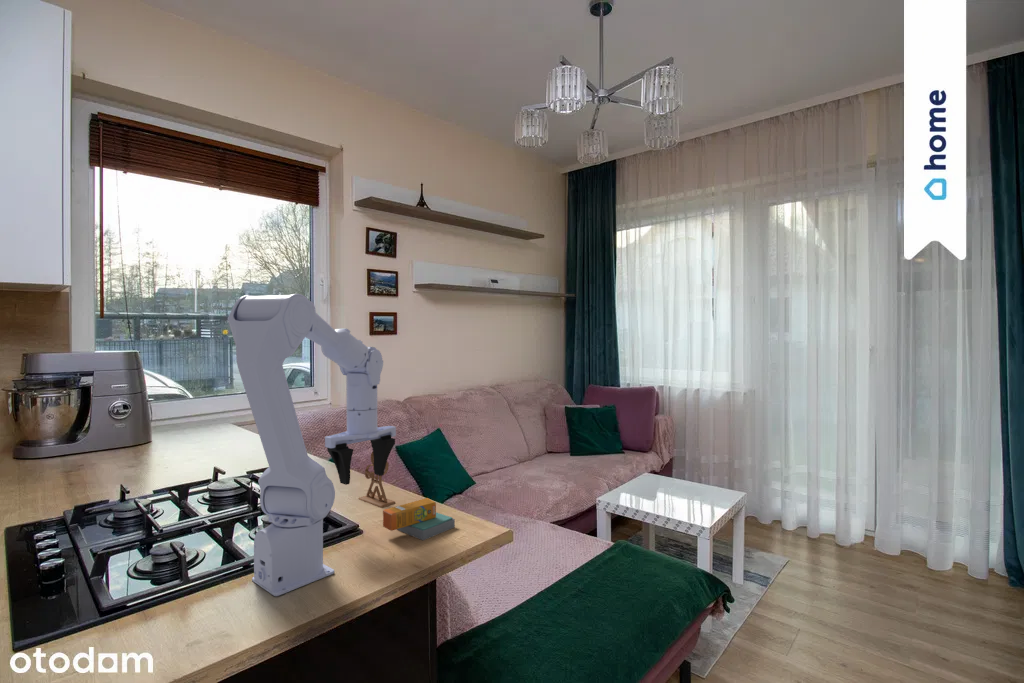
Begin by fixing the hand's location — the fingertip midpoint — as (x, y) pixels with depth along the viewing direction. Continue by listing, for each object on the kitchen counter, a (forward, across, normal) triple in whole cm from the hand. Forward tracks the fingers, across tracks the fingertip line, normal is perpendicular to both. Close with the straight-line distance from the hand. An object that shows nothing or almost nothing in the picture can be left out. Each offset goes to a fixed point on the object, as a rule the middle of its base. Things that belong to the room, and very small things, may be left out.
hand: (362, 478), depth 96 cm
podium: (+10, +8, -9) cm, 16 cm away
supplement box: (+6, 0, -8) cm, 10 cm away
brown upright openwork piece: (+10, +11, +11) cm, 19 cm away
